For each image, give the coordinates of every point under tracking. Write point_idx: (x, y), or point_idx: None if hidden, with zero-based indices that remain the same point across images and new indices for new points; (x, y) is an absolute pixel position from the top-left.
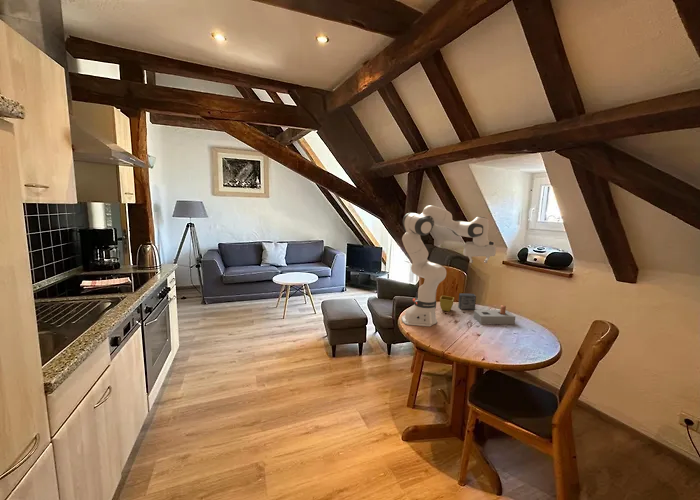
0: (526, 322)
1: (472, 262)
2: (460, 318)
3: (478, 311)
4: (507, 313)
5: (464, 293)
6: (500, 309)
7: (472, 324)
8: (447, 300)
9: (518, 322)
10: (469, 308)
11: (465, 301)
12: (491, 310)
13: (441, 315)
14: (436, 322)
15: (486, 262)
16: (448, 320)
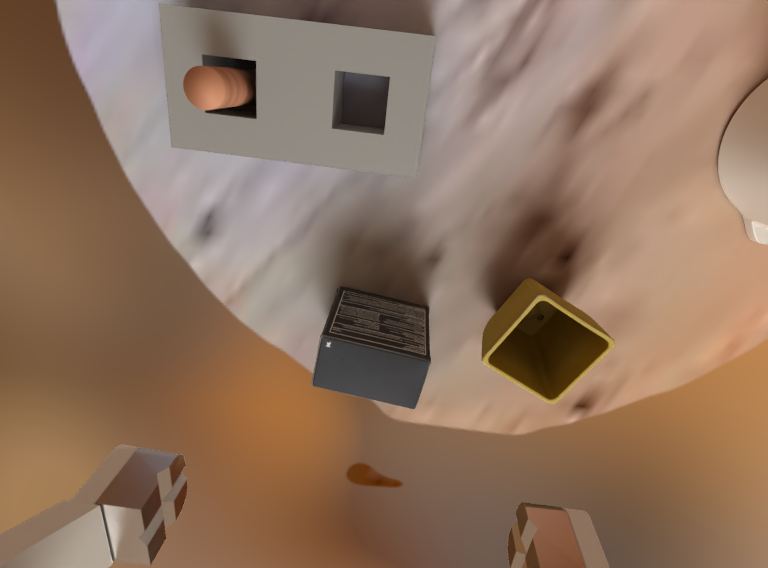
0: (94, 34)
1: (539, 507)
2: (519, 158)
3: (397, 147)
4: None
5: (377, 400)
6: (235, 96)
7: (499, 36)
8: (571, 312)
9: (150, 40)
10: (373, 297)
11: (398, 328)
12: (287, 157)
13: (618, 225)
14: (755, 90)
15: (139, 451)
16: (628, 131)
